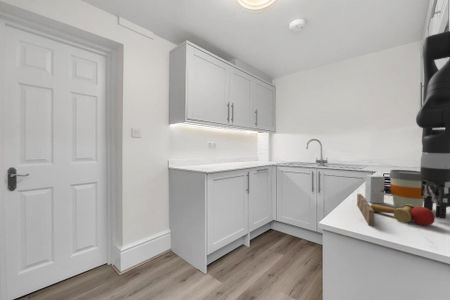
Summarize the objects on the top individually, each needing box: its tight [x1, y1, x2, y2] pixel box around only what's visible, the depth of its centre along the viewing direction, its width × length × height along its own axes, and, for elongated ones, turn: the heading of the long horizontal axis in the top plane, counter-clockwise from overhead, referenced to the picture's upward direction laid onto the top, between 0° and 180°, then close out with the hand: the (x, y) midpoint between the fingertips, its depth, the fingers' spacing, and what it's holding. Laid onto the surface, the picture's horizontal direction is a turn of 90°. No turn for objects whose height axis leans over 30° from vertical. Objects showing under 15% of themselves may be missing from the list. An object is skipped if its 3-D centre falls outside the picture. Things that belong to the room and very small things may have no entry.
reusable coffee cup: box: [389, 169, 425, 209], centre depth 87 cm, size 12×13×15 cm
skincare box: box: [364, 174, 386, 204], centre depth 94 cm, size 6×4×12 cm
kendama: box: [370, 203, 436, 226], centre depth 74 cm, size 8×6×18 cm
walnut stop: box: [356, 193, 375, 227], centre depth 78 cm, size 24×1×5 cm, turn 155°
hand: (433, 214), depth 70 cm, fingers open, 8 cm apart
